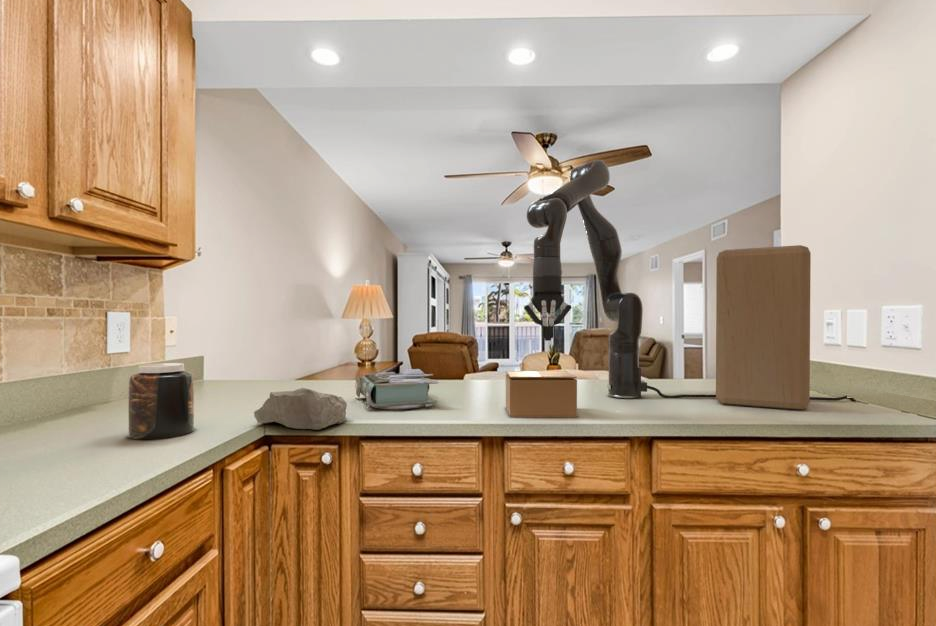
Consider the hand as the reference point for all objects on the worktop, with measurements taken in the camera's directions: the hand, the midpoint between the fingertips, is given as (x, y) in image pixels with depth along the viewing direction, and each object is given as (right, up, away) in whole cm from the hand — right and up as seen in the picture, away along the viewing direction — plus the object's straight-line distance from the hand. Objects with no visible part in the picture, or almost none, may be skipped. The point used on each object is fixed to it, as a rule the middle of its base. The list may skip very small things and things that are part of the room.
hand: (547, 340), depth 129 cm
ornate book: (-42, -19, +15) cm, 49 cm away
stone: (-61, -20, -14) cm, 66 cm away
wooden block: (+66, -19, +15) cm, 70 cm away
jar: (-88, -20, -24) cm, 93 cm away
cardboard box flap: (+2, -9, 0) cm, 10 cm away
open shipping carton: (-2, -19, 0) cm, 19 cm away
